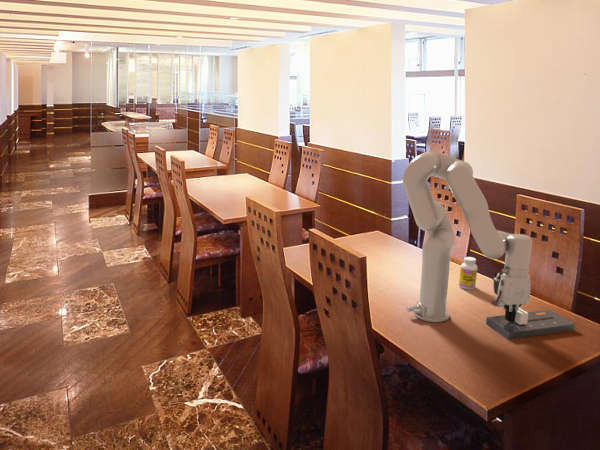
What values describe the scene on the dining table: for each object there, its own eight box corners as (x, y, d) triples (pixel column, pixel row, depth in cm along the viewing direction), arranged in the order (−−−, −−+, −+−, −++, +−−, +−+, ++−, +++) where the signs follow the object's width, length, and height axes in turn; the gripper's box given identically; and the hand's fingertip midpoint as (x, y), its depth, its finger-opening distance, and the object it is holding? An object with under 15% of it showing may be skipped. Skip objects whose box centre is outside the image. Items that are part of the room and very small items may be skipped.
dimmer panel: (508, 339, 165) (509, 332, 164) (486, 323, 176) (486, 317, 176) (574, 330, 172) (575, 323, 172) (548, 315, 183) (549, 309, 183)
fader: (519, 324, 169) (521, 313, 168) (510, 318, 174) (511, 307, 173) (527, 323, 170) (528, 312, 169) (517, 317, 175) (518, 306, 174)
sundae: (508, 308, 190) (513, 271, 186) (490, 306, 191) (494, 269, 187) (505, 301, 196) (510, 265, 192) (487, 299, 197) (492, 264, 193)
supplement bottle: (459, 289, 207) (462, 260, 204) (457, 283, 213) (460, 255, 210) (476, 290, 206) (479, 261, 203) (473, 284, 212) (476, 256, 209)
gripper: (504, 276, 161) (497, 327, 165) (542, 272, 165) (535, 323, 169) (489, 268, 168) (484, 318, 172) (527, 265, 172) (520, 313, 176)
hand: (509, 320), depth 171 cm, fingers closed
